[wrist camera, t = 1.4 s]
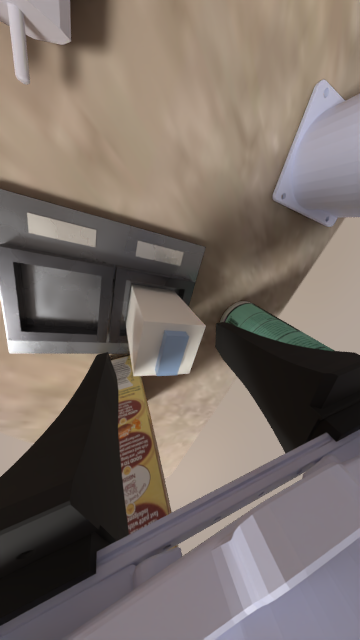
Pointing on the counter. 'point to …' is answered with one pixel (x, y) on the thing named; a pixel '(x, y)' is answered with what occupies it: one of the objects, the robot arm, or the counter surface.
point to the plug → (161, 332)
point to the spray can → (267, 325)
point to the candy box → (138, 452)
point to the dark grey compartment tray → (80, 276)
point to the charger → (34, 27)
